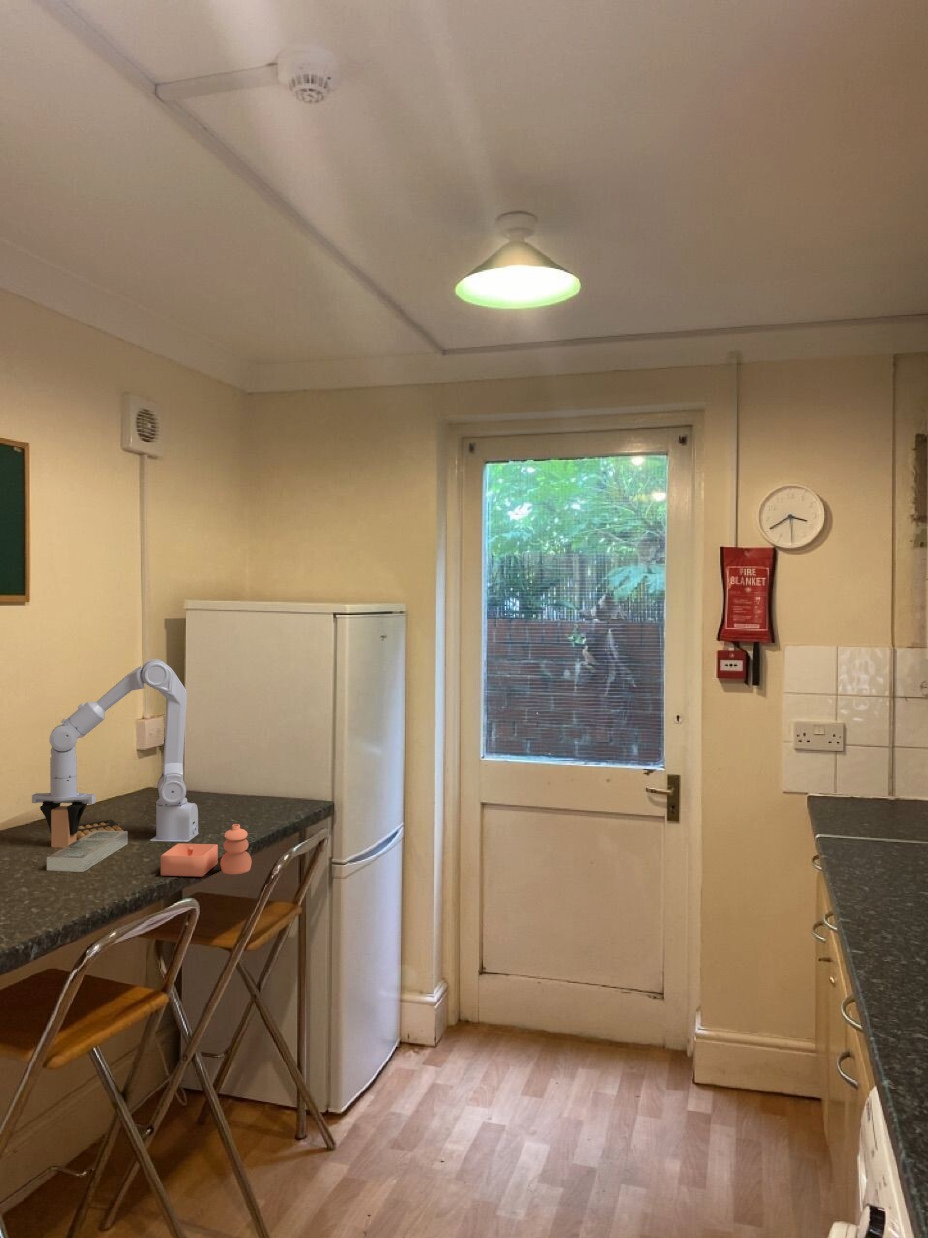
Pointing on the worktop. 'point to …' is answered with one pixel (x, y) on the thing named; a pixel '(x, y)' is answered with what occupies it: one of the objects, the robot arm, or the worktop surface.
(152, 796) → the worktop surface
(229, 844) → the pottery
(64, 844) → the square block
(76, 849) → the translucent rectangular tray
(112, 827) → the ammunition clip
